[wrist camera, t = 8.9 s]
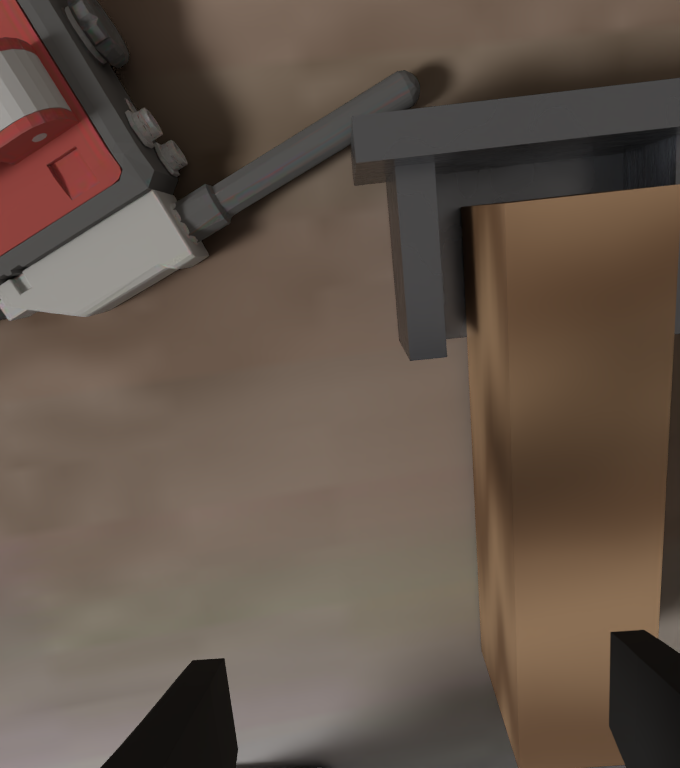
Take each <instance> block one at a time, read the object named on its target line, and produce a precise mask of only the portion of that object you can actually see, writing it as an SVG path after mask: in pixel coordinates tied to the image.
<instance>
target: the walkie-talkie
mask: <svg viewBox="0 0 680 768" xmlns="http://www.w3.org/2000/svg"><path fill="white" fill-rule="evenodd" d="M128 60H129V53H128V50H127V47H126V45H125V43H124V41H123V39H122V37H121V36H120V34H119V32H118V31H117V29H116V27H115V26H114V24H113V23H112V21H111V20H110V19H109V17H108V16H107V14H106V13H105V11H104V10H103V8H102V7H101V6H100V4H99V3H98V1H97V0H0V299H1V300H0V320H2V319H8V320H9V321H12V320H16V319H21V318H25V317H29V316H31V315H32V314H34V313H36V312H37V311H41V312H49V313H57V314H65V315H72V316H86V317H88V316H92V315H95V314H99V313H103V312H106V311H109V310H111V309H113V308H114V307H116V306H118V305H119V304H121V303H123V302H125V301H126V300H128V299H130V298H131V297H133V296H135V295H136V294H138V293H140V292H141V291H143V290H145V289H146V288H148V287H150V286H151V285H153V284H155V283H156V282H158V281H160V280H162V279H163V278H165V277H167V276H168V275H170V274H172V273H173V272H175V271H177V270H178V269H182V268H190V267H193V266H194V265H196V264H197V263H199V262H201V261H202V260H204V259H205V258H207V257H208V256H209V254H208V252H207V250H206V248H205V247H204V245H203V243H202V242H201V241H202V240H203V239H205V238H207V237H208V236H210V235H212V234H213V233H215V232H217V231H218V230H220V229H222V228H223V227H225V226H227V225H228V224H230V222H231V217H232V216H233V215H235V214H237V213H238V212H240V211H242V210H243V209H245V208H247V207H248V206H250V205H251V204H253V203H255V202H256V201H258V200H260V199H261V198H263V197H265V196H266V195H268V194H270V193H271V192H273V191H275V190H276V189H278V188H279V187H281V186H283V185H284V184H286V183H288V182H289V181H291V180H293V179H294V178H296V177H298V176H299V175H301V174H303V173H304V172H306V171H307V170H309V169H311V168H312V167H314V166H316V165H317V164H319V163H321V162H322V161H324V160H326V159H327V158H329V157H331V156H332V155H334V154H335V153H337V152H339V151H340V150H342V149H344V148H345V147H347V146H349V145H350V144H351V126H352V116H356V115H365V114H374V113H382V112H391V111H399V110H408V109H409V108H411V107H412V106H414V105H415V103H416V102H417V100H418V98H419V94H420V84H419V82H418V80H417V78H416V77H415V76H414V75H413V74H412V73H410V72H407V71H405V70H403V71H397V72H395V73H394V74H392V75H390V76H389V77H387V78H386V79H384V80H382V81H381V82H379V83H378V84H376V85H374V86H373V87H371V88H370V89H368V90H366V91H365V92H363V93H362V94H360V95H358V96H357V97H355V98H353V99H352V100H350V101H349V102H347V103H345V104H344V105H342V106H341V107H339V108H337V109H336V110H334V111H333V112H331V113H329V114H328V115H326V116H325V117H323V118H321V119H320V120H318V121H317V122H315V123H313V124H312V125H310V126H309V127H307V128H305V129H304V130H302V131H300V132H299V133H297V134H296V135H294V136H292V137H291V138H289V139H288V140H286V141H284V142H283V143H281V144H280V145H278V146H276V147H275V148H273V149H272V150H270V151H268V152H267V153H265V154H264V155H262V156H260V157H259V158H257V159H256V160H254V161H252V162H251V163H249V164H247V165H246V166H244V167H243V168H241V169H239V170H238V171H236V172H235V173H233V174H231V175H230V176H228V177H227V178H225V179H223V180H222V181H220V182H219V183H217V184H215V185H214V186H211V185H208V184H204V185H203V186H201V187H199V188H198V189H196V190H195V191H193V192H191V193H190V194H188V195H187V196H185V197H183V198H182V199H180V200H179V201H177V200H176V198H175V196H174V195H173V193H174V190H175V187H176V185H177V182H178V178H177V176H179V175H180V174H179V172H178V170H180V169H181V168H183V167H184V166H186V165H188V163H187V160H186V158H185V156H184V154H183V153H182V151H181V150H180V148H179V147H178V146H177V144H176V143H175V142H174V141H172V140H170V141H167V142H166V143H165V144H162V145H161V144H159V143H157V142H156V141H155V139H157V138H158V137H160V136H161V135H163V133H162V130H161V128H160V126H159V125H158V123H157V121H156V120H155V118H154V117H153V116H152V114H151V113H150V112H149V111H148V110H147V109H145V108H143V109H140V110H139V111H137V110H136V108H135V106H134V105H133V103H132V101H131V100H130V98H129V96H128V95H127V93H126V91H125V90H124V88H123V86H122V85H121V83H120V81H119V80H118V78H117V76H116V75H115V73H114V71H113V70H112V68H111V66H110V65H112V66H114V67H116V68H120V67H121V66H123V65H124V64H126V63H127V62H128ZM109 64H110V65H109Z"/></svg>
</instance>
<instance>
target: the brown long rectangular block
mask: <svg viewBox="0 0 680 768" xmlns="http://www.w3.org/2000/svg"><path fill="white" fill-rule="evenodd" d="M461 215H462V237H463V258H464V280H465V302H466V324H467V345H468V367H469V389H470V410H471V432H472V454H473V476H474V497H475V519H476V541H477V562H478V584H479V606H480V628H481V649H482V653H483V656H484V660H485V663H486V666H487V669H488V672H489V676H490V679H491V682H492V685H493V688H494V692H495V695H496V698H497V701H498V704H499V708H500V711H501V714H502V717H503V720H504V724H505V727H506V730H507V733H508V736H509V740H510V743H511V746H512V749H513V752H514V756H515V759H516V762H517V765H518V768H587V767H601V766H615V765H625V763H624V761H623V759H622V757H621V754H620V752H619V749H618V747H617V744H616V742H615V740H614V737H613V735H612V732H611V730H610V727H609V691H610V632H618V631H632V630H645V631H647V632H648V633H650V634H652V635H653V636H655V637H656V638H658V632H659V613H660V594H661V576H662V557H663V538H664V520H665V501H666V482H667V463H668V445H669V426H670V407H671V389H672V370H673V351H674V333H675V314H676V295H677V276H678V258H679V239H680V184H678V185H668V186H657V187H647V188H636V189H626V190H615V191H604V192H594V193H584V194H575V195H566V196H557V197H548V198H538V199H529V200H520V201H511V202H502V203H493V204H484V205H474V206H465V207H461Z"/></svg>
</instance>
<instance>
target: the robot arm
mask: <svg viewBox="0 0 680 768" xmlns="http://www.w3.org/2000/svg"><path fill="white" fill-rule="evenodd" d="M609 727H610V730H611V732H612V735H613V737H614V740H615V742H616V744H617V747H618V749H619V752H620V754H621V757H622V759H623V761H624V763H625V766H626V768H680V653H678V652H677V651H675V650H674V649H672V648H671V647H669V646H668V645H667V644H665V643H664V642H662V641H661V640H659V639H658V638H656V637H655V636H653V635H652V634H650V633H648V632H647V631H645V630H632V631H618V632H610V691H609ZM237 753H238V746H237V740H236V733H235V726H234V720H233V713H232V706H231V700H230V693H229V686H228V679H227V673H226V666H225V659H224V658H222V659H207V660H193V661H192V662H191V663H190V664H189V665H188V666H187V667H186V669H185V670H184V671H183V672H182V673H181V674H180V676H179V677H178V678H177V679H176V680H175V682H174V683H173V684H172V685H171V686H170V688H169V689H168V690H167V691H166V693H165V694H164V695H163V696H162V697H161V699H160V700H159V701H158V702H157V703H156V705H155V706H154V707H153V708H152V709H151V711H150V712H149V713H148V714H147V715H146V717H145V718H144V719H143V720H142V721H141V722H140V724H139V725H138V726H137V727H136V728H135V729H134V731H133V732H132V733H131V734H130V735H129V736H128V737H127V739H126V740H125V741H124V742H123V743H122V744H121V746H120V747H119V748H118V749H117V750H116V751H115V752H114V754H113V755H112V756H111V757H110V758H109V759H108V760H107V761H106V762H105V763H104V764H103V765H102V766H101V768H236V761H237ZM319 768H320V767H319Z"/></svg>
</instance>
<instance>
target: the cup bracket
mask: <svg viewBox="0 0 680 768" xmlns="http://www.w3.org/2000/svg"><path fill="white" fill-rule="evenodd" d="M351 158H352V168H353V179H354V186H355V185H364V184H373V183H382V182H386V186H387V198H388V210H389V222H390V234H391V247H392V259H393V271H394V283H395V295H396V307H397V319H398V331H399V341H400V343H401V345H402V347H403V348H404V350H405V352H406V354H407V356H408V358H409V360H410V361H413V360H423V359H433V358H443V357H447V349H446V339H451V338H461V337H467V324H466V302H465V280H464V258H463V237H462V215H461V207H465V206H474V205H484V204H493V203H502V202H511V201H520V200H529V199H538V198H548V197H557V196H566V195H575V194H584V193H594V192H604V191H615V190H626V189H636V188H647V187H657V186H668V185H678V184H680V78H675V79H666V80H657V81H649V82H640V83H632V84H623V85H614V86H606V87H597V88H589V89H580V90H571V91H563V92H554V93H546V94H537V95H528V96H520V97H511V98H503V99H494V100H485V101H477V102H468V103H460V104H451V105H442V106H434V107H425V108H417V109H408V110H399V111H391V112H382V113H374V114H365V115H356V116H352V126H351ZM674 334H680V239H679V258H678V276H677V295H676V314H675V333H674Z"/></svg>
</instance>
